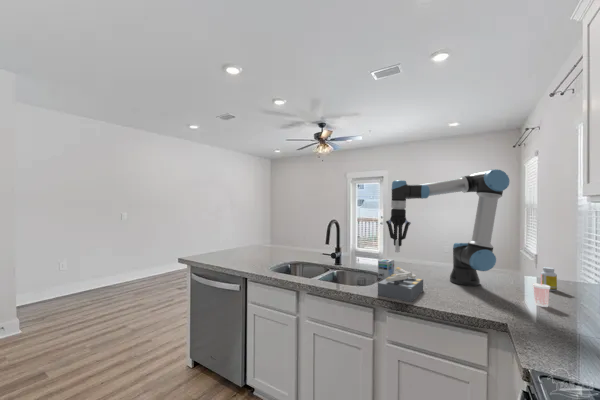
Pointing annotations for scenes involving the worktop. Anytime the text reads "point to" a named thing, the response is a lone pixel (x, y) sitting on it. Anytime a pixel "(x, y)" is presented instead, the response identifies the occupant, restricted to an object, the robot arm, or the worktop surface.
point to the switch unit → (401, 288)
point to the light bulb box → (385, 268)
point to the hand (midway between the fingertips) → (397, 251)
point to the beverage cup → (541, 294)
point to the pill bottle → (549, 278)
